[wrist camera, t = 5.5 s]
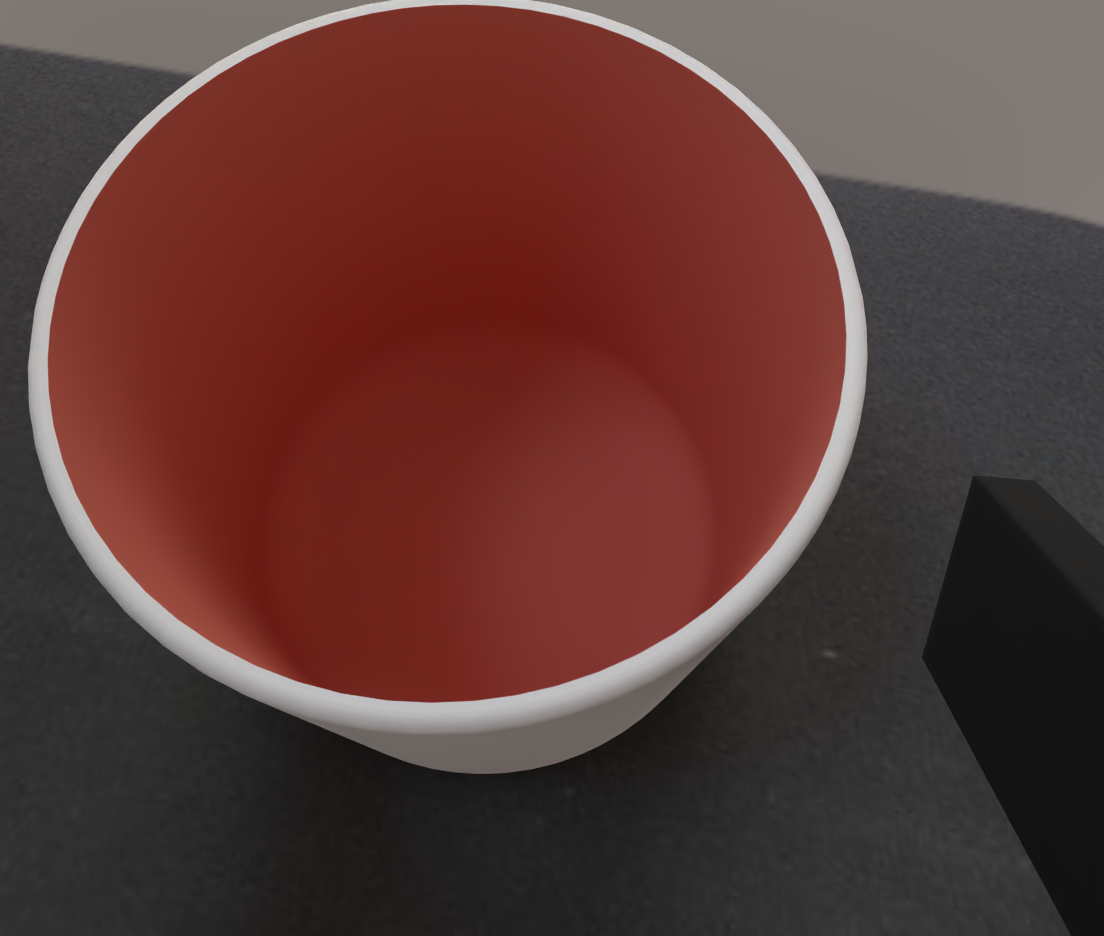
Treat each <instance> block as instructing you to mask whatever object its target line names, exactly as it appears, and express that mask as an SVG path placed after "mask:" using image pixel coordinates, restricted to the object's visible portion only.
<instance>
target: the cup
mask: <svg viewBox="0 0 1104 936" xmlns="http://www.w3.org/2000/svg"><path fill="white" fill-rule="evenodd" d="M866 371H867V330H866V320H865V312H864V304H863V297H862V293H861V289H860V285H859V282H858V278H857V274H856V270H855V266H854V263H853V259H852V255H851V251H850V247H849V244H848V241H847V239H846V236H845V234H844V232H843V229H842V227H841V224H840V222H839V220H838V217H837V215H836V213H835V210H834V208H833V206H832V205H831V203H830V201H829V199H828V197H827V196H826V194H825V192H824V190H823V188H822V187H821V185H820V183H819V181H818V179H817V178H816V176H815V175H814V173H813V172H812V170H811V169H810V168H809V166H808V165H807V163H806V162H805V161H804V159H803V158H802V156H801V155H800V154H799V152H798V151H797V149H796V148H795V147H794V145H793V144H792V143H791V142H790V141H789V140H788V139H787V137H786V136H785V135H784V134H783V133H782V132H781V131H780V130H779V128H778V127H777V126H776V125H775V124H774V123H773V122H772V121H771V119H770V118H769V117H768V116H767V115H766V114H765V113H763V112H762V111H761V110H760V109H759V108H758V107H757V106H756V105H754V104H753V103H752V102H751V101H750V100H749V99H748V98H747V97H746V96H745V95H744V94H742V93H741V92H740V91H739V90H738V89H737V88H735V87H734V86H732V85H731V84H730V83H729V82H727V81H726V80H724V79H723V78H722V77H720V76H719V75H718V74H716V73H715V72H714V71H712V70H711V69H709V68H708V67H707V66H705V65H703V64H702V63H700V62H698V61H697V60H695V59H693V58H692V57H690V56H688V55H687V54H685V53H683V52H681V51H680V50H678V49H676V48H675V47H673V46H671V45H669V44H667V43H665V42H663V41H661V40H659V39H656V38H654V37H652V36H650V35H648V34H645V33H643V32H641V31H639V30H637V29H634V28H632V27H629V26H627V25H624V24H621V23H618V22H615V21H612V20H609V19H607V18H604V17H601V16H598V15H595V14H591V13H588V12H584V11H580V10H575V9H572V8H568V7H563V6H559V5H555V4H549V3H543V2H537V1H531V0H392V1H386V2H380V3H374V4H367V5H363V6H359V7H355V8H351V9H346V10H342V11H338V12H334V13H330V14H327V15H324V16H321V17H318V18H314V19H312V20H308V21H305V22H302V23H299V24H297V25H294V26H292V27H289V28H287V29H284V30H281V31H279V32H277V33H274V34H271V35H269V36H267V37H266V38H263V39H261V40H259V41H257V42H255V43H253V44H250V45H248V46H246V47H244V48H242V49H241V50H239V51H237V52H235V53H233V54H232V55H230V56H228V57H226V58H224V59H223V60H221V61H219V62H217V63H216V64H214V65H213V66H211V67H210V68H208V69H207V70H205V71H204V72H202V73H201V74H199V75H197V76H196V77H194V78H193V79H191V80H190V81H189V82H187V83H186V84H185V85H183V86H182V87H181V88H180V89H178V90H177V91H176V92H174V93H173V94H172V95H170V96H169V97H168V98H167V99H165V100H164V101H163V102H162V103H161V104H160V105H159V106H157V107H156V108H155V109H154V110H153V111H152V112H151V113H150V114H148V115H147V116H146V117H145V118H144V119H143V120H142V121H141V122H140V123H139V124H138V125H137V126H136V127H135V128H134V129H133V130H132V131H131V132H130V133H129V134H128V135H127V136H126V137H125V139H124V140H123V141H122V142H121V143H120V144H119V145H118V146H117V147H116V149H115V150H114V151H113V152H112V154H111V155H110V156H109V157H108V158H107V160H106V161H105V162H104V163H103V165H102V166H101V167H100V168H99V170H98V171H97V173H96V174H95V176H94V177H93V179H92V180H91V181H90V183H89V184H88V186H87V187H86V189H85V190H84V192H83V193H82V195H81V196H80V198H79V200H78V202H77V203H76V205H75V207H74V209H73V210H72V212H71V214H70V216H69V218H68V219H67V221H66V223H65V225H64V227H63V229H62V232H61V234H60V236H59V238H58V240H57V243H56V245H55V247H54V249H53V251H52V254H51V257H50V260H49V263H48V265H47V268H46V271H45V274H44V277H43V279H42V283H41V287H40V291H39V295H38V299H37V303H36V307H35V312H34V320H33V329H32V337H31V345H30V354H29V362H28V386H29V410H30V416H31V422H32V429H33V435H34V441H35V448H36V451H37V455H38V458H39V461H40V465H41V468H42V472H43V475H44V478H45V482H46V485H47V488H48V491H49V493H50V496H51V498H52V500H53V502H54V504H55V507H56V509H57V511H58V513H59V516H60V518H61V520H62V522H63V524H64V527H65V529H66V531H67V533H68V535H69V536H70V538H71V540H72V541H73V543H74V545H75V546H76V548H77V549H78V551H79V553H80V554H81V556H82V557H83V559H84V560H85V562H86V563H87V565H88V567H89V568H90V570H91V571H92V573H93V574H94V575H95V577H96V578H97V579H98V580H99V582H100V583H101V584H102V585H103V586H104V588H105V589H106V590H107V591H108V592H109V593H110V594H111V596H112V597H113V598H114V599H115V600H116V601H117V603H118V604H119V605H120V606H121V607H122V608H123V610H124V611H125V612H126V613H127V614H128V615H129V616H130V617H131V618H133V619H134V620H135V621H136V622H137V623H138V624H139V625H141V626H142V627H143V628H144V629H145V630H146V631H147V632H149V633H150V634H151V635H152V636H153V637H154V638H155V639H156V640H158V641H159V642H160V643H161V644H162V645H163V646H164V647H166V648H167V649H169V650H170V651H172V652H173V653H175V654H176V655H177V656H179V657H180V658H182V659H183V660H185V661H186V662H188V663H189V664H191V665H192V666H194V667H195V668H196V669H198V670H199V671H201V672H202V673H204V674H206V675H207V676H209V677H211V678H213V679H215V680H217V681H219V682H221V683H223V684H225V685H226V686H228V687H230V688H232V689H234V690H236V691H238V692H240V693H242V694H244V695H246V696H248V697H250V698H253V699H255V700H257V701H260V702H262V703H265V704H267V705H269V706H272V707H274V708H277V709H279V710H281V711H284V712H286V713H289V714H291V715H293V716H296V717H298V718H300V719H303V720H305V721H308V722H310V723H312V724H315V725H317V726H320V727H322V728H324V729H327V730H329V731H332V732H334V733H336V734H339V735H341V736H344V737H346V738H348V739H351V740H353V741H355V742H358V743H360V744H363V745H365V746H367V747H370V748H372V749H375V750H377V751H379V752H382V753H384V754H387V755H390V756H392V757H395V758H397V759H400V760H402V761H405V762H408V763H412V764H416V765H419V766H423V767H427V768H431V769H437V770H443V771H449V772H456V773H471V774H493V773H509V772H516V771H523V770H530V769H535V768H539V767H543V766H547V765H551V764H555V763H558V762H561V761H564V760H567V759H570V758H573V757H576V756H578V755H581V754H583V753H585V752H587V751H590V750H592V749H594V748H596V747H598V746H600V745H602V744H604V743H605V742H607V741H609V740H611V739H612V738H614V737H616V736H617V735H619V734H621V733H622V732H624V731H625V730H627V729H628V728H629V727H631V726H632V725H633V724H635V723H636V722H638V721H639V720H640V719H642V718H643V717H644V716H645V715H646V714H648V713H649V712H650V711H651V710H652V709H653V708H654V707H655V706H656V705H657V704H659V703H660V702H661V701H662V700H663V699H664V698H665V697H666V696H667V695H668V694H669V693H670V692H671V691H672V690H673V689H674V688H675V687H676V686H677V685H678V684H679V683H680V682H681V681H682V680H683V679H684V678H685V677H686V676H687V675H688V674H689V673H690V672H691V671H692V670H693V669H694V668H695V667H696V666H697V665H698V664H699V663H700V662H701V661H702V660H703V659H704V658H705V657H706V656H707V655H708V654H709V653H710V652H711V651H712V650H713V649H714V648H715V647H716V646H717V645H718V644H720V643H721V642H722V641H723V640H724V639H725V638H726V637H727V636H728V635H729V634H730V633H731V632H732V631H733V630H734V629H735V628H736V627H737V626H738V625H739V624H740V623H741V622H742V621H743V620H744V619H745V618H746V617H747V616H748V615H749V614H750V613H751V612H752V611H753V610H754V609H755V608H756V607H757V606H758V605H759V604H760V603H761V602H762V601H763V600H764V599H765V597H766V596H767V595H768V594H769V593H770V592H771V591H772V590H773V589H774V587H775V586H776V585H777V584H778V583H779V582H780V581H781V579H782V578H783V577H784V576H785V575H786V574H787V572H788V571H789V570H790V569H791V567H792V566H793V565H794V563H795V562H796V561H797V559H798V558H799V556H800V555H801V554H802V552H803V551H804V549H805V548H806V546H807V545H808V543H809V542H810V540H811V539H812V537H813V536H814V534H815V533H816V531H817V529H818V528H819V526H820V524H821V522H822V521H823V519H824V517H825V515H826V513H827V511H828V509H829V507H830V505H831V503H832V501H833V499H834V497H835V495H836V493H837V491H838V489H839V486H840V483H841V481H842V478H843V476H844V473H845V470H846V468H847V465H848V462H849V460H850V457H851V454H852V450H853V447H854V443H855V439H856V435H857V432H858V428H859V424H860V419H861V413H862V407H863V401H864V395H865V386H866Z"/></svg>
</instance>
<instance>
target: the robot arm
mask: <svg viewBox="0 0 1104 936" xmlns="http://www.w3.org/2000/svg"><path fill="white" fill-rule="evenodd" d="M922 658H923V660H924V662H925V664H926V666H927V668H928V670H929V671H930V673H931V675H932V677H933V679H934V681H935V683H936V684H937V686H938V688H939V690H940V692H941V694H942V696H943V698H944V699H945V701H946V703H947V705H948V707H949V709H950V711H951V712H952V714H953V716H954V718H955V720H956V722H957V724H958V726H959V727H960V729H961V731H962V733H963V735H964V737H965V739H966V740H967V742H968V744H969V746H970V748H971V750H972V752H973V753H974V755H975V757H976V759H977V761H978V763H979V765H980V767H981V768H982V770H983V772H984V774H985V776H986V778H987V780H988V781H989V783H990V785H991V787H992V789H993V791H994V793H995V794H996V796H997V798H998V800H999V802H1000V804H1001V806H1002V808H1003V809H1004V811H1005V813H1006V815H1007V817H1008V819H1009V821H1010V822H1011V824H1012V826H1013V828H1014V830H1015V832H1016V834H1017V836H1018V837H1019V839H1020V841H1021V843H1022V845H1023V847H1024V849H1025V850H1026V852H1027V854H1028V856H1029V858H1030V860H1031V862H1032V863H1033V865H1034V867H1035V869H1036V871H1037V873H1038V875H1039V877H1040V878H1041V880H1042V882H1043V884H1044V886H1045V888H1046V890H1047V891H1048V893H1049V895H1050V897H1051V899H1052V901H1053V903H1054V905H1055V906H1056V908H1057V910H1058V912H1059V914H1060V916H1061V918H1062V919H1063V921H1064V923H1065V925H1066V927H1067V929H1068V931H1069V932H1070V934H1071V936H1104V546H1103V545H1102V544H1101V543H1100V542H1099V541H1098V540H1096V539H1095V538H1094V537H1093V536H1092V535H1091V534H1090V533H1089V532H1088V531H1087V530H1086V529H1085V528H1084V527H1083V526H1082V525H1081V524H1080V523H1079V522H1078V521H1077V520H1076V519H1075V518H1073V517H1072V516H1071V515H1070V514H1069V513H1068V512H1067V511H1066V510H1065V509H1064V508H1063V507H1062V506H1061V505H1060V504H1059V503H1058V502H1057V501H1056V500H1055V499H1054V498H1053V497H1052V496H1051V495H1049V494H1048V493H1047V492H1046V491H1045V490H1044V489H1043V488H1042V487H1041V486H1040V485H1039V484H1038V483H1037V482H1036V481H1032V480H1021V479H1009V478H997V477H986V476H974V475H973V479H972V482H971V486H970V489H969V493H968V497H967V500H966V504H965V507H964V511H963V514H962V518H961V521H960V525H959V528H958V532H957V535H956V539H955V543H954V546H953V550H952V553H951V557H950V560H949V564H948V567H947V571H946V574H945V578H944V582H943V585H942V589H941V592H940V596H939V599H938V603H937V606H936V610H935V613H934V617H933V620H932V624H931V628H930V631H929V635H928V638H927V642H926V645H925V649H924V652H923V656H922Z"/></svg>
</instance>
